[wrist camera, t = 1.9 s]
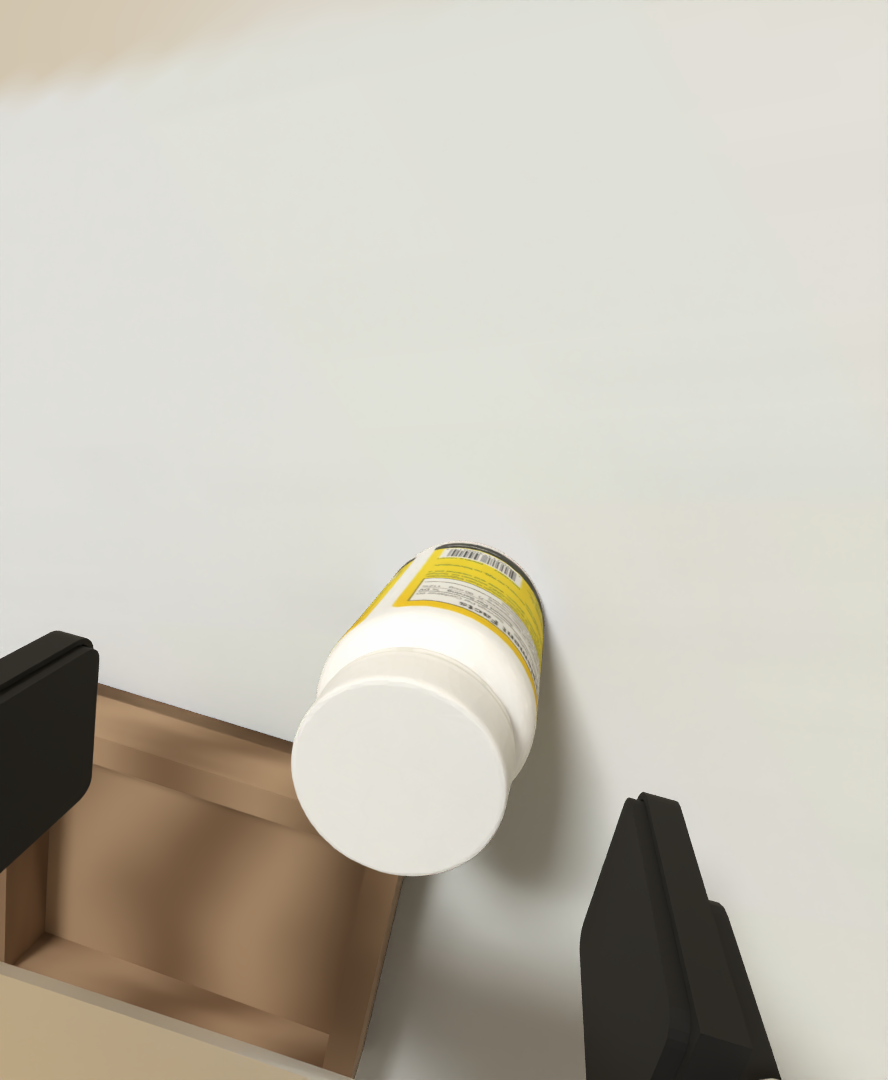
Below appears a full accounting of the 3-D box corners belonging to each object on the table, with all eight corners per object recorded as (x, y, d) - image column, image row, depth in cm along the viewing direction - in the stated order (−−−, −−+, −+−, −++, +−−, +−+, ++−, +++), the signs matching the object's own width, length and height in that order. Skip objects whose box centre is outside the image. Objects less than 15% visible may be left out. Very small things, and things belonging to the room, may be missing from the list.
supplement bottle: (424, 705, 20) (331, 919, 12) (363, 570, 20) (221, 704, 12) (570, 660, 19) (571, 865, 11) (510, 513, 18) (464, 620, 10)
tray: (425, 783, 21) (407, 835, 19) (362, 1050, 24) (340, 1123, 22) (43, 666, 23) (-18, 700, 20) (33, 930, 26) (-21, 986, 24)
